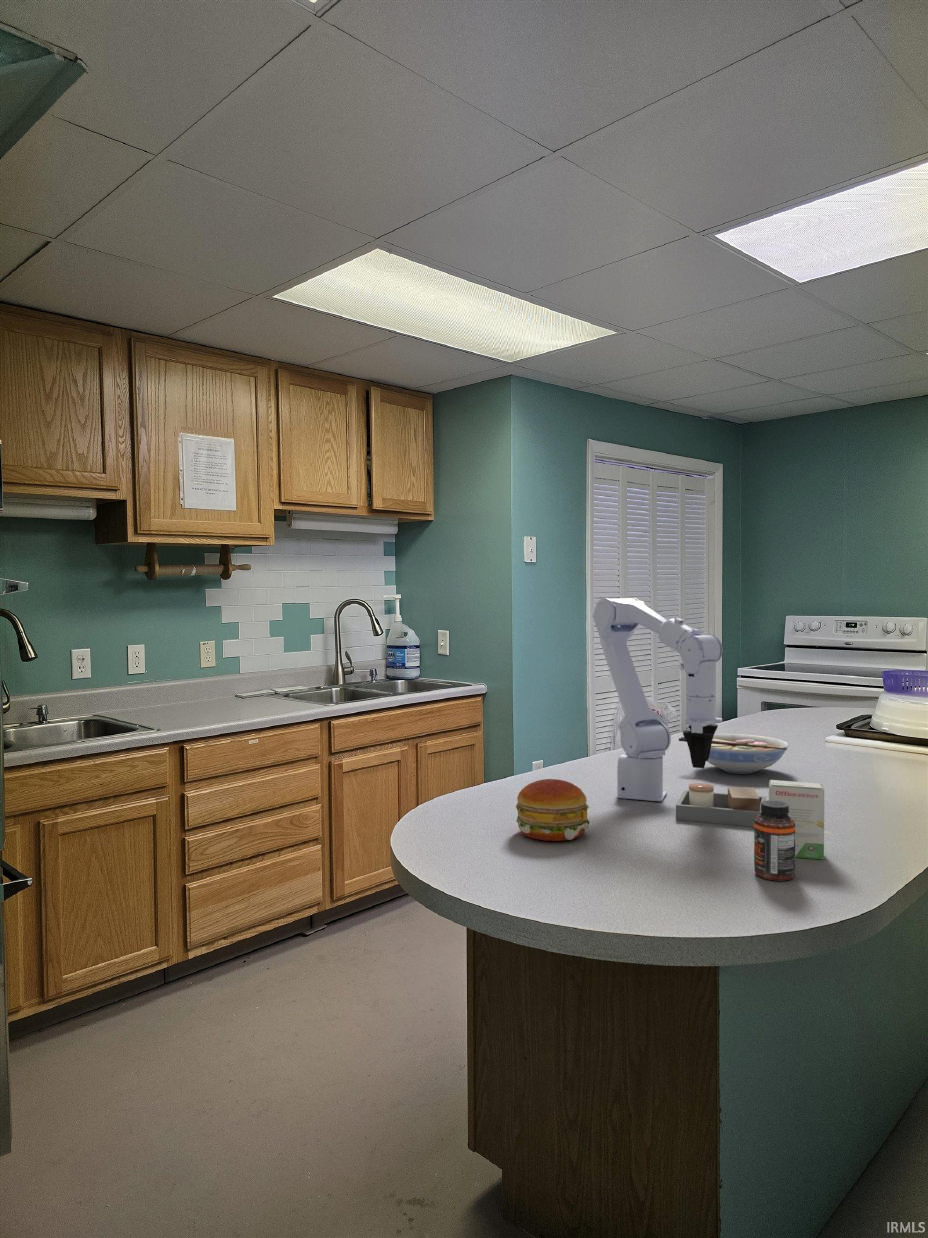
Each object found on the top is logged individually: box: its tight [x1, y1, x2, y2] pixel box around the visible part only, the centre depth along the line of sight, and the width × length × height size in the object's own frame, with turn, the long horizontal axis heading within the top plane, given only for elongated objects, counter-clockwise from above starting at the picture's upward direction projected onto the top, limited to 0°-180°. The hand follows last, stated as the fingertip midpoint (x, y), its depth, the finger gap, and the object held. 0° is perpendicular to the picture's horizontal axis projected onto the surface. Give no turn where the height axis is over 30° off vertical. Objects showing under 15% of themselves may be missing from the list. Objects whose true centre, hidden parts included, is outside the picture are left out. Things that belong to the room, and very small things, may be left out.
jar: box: [688, 782, 715, 807], centre depth 162 cm, size 5×5×6 cm
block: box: [727, 786, 760, 811], centre depth 159 cm, size 5×9×5 cm, turn 167°
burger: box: [515, 778, 591, 842], centre depth 149 cm, size 14×14×10 cm
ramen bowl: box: [678, 733, 789, 775], centre depth 201 cm, size 25×23×8 cm
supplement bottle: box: [753, 799, 796, 882], centre depth 126 cm, size 6×6×11 cm
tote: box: [675, 789, 767, 828], centre depth 161 cm, size 16×13×3 cm
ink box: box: [768, 779, 825, 860], centre depth 137 cm, size 9×5×12 cm, turn 71°
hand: (700, 763), depth 162 cm, fingers open, 7 cm apart
